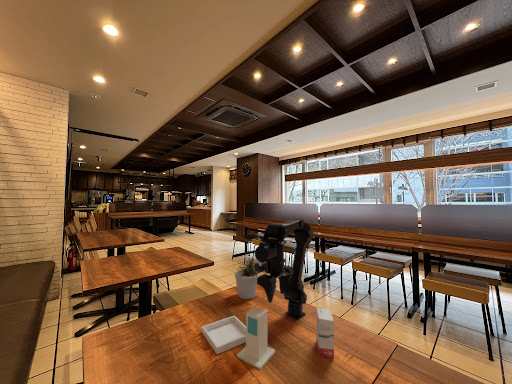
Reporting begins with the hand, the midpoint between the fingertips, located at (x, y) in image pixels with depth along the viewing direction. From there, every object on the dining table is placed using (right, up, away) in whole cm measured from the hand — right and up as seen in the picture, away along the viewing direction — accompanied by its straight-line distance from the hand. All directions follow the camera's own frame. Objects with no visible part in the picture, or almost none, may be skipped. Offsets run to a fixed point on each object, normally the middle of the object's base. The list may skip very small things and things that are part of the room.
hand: (276, 297), depth 81 cm
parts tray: (-18, -13, -3) cm, 23 cm away
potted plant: (-12, -14, +30) cm, 36 cm away
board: (-8, -12, -13) cm, 19 cm away
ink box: (+16, -13, -9) cm, 22 cm away
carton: (-7, -11, -13) cm, 19 cm away
